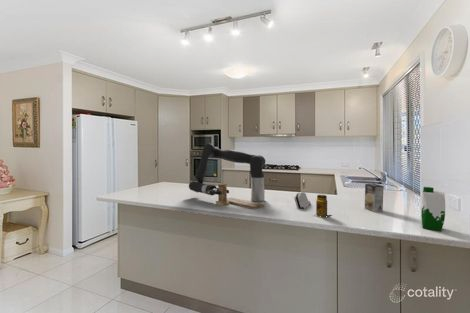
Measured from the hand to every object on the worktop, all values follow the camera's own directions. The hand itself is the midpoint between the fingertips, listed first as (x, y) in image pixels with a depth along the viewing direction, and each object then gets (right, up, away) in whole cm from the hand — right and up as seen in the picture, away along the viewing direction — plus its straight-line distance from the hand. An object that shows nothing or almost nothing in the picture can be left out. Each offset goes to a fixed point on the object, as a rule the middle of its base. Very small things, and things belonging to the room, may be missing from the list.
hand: (224, 192), depth 171 cm
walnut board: (+12, -8, +3) cm, 15 cm away
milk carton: (+105, -11, -48) cm, 116 cm away
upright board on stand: (-2, -8, +2) cm, 9 cm away
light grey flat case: (+53, -9, -2) cm, 53 cm away
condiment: (+58, -10, -25) cm, 64 cm away
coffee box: (+94, -9, -14) cm, 96 cm away
